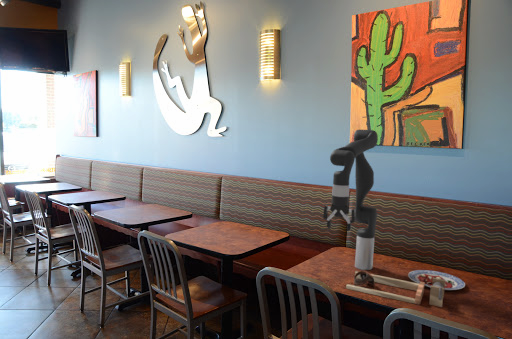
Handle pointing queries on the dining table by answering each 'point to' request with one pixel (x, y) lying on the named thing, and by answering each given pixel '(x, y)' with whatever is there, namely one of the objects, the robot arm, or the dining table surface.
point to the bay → (392, 282)
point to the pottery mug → (364, 278)
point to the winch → (437, 292)
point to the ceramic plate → (428, 276)
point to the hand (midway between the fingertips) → (338, 229)
